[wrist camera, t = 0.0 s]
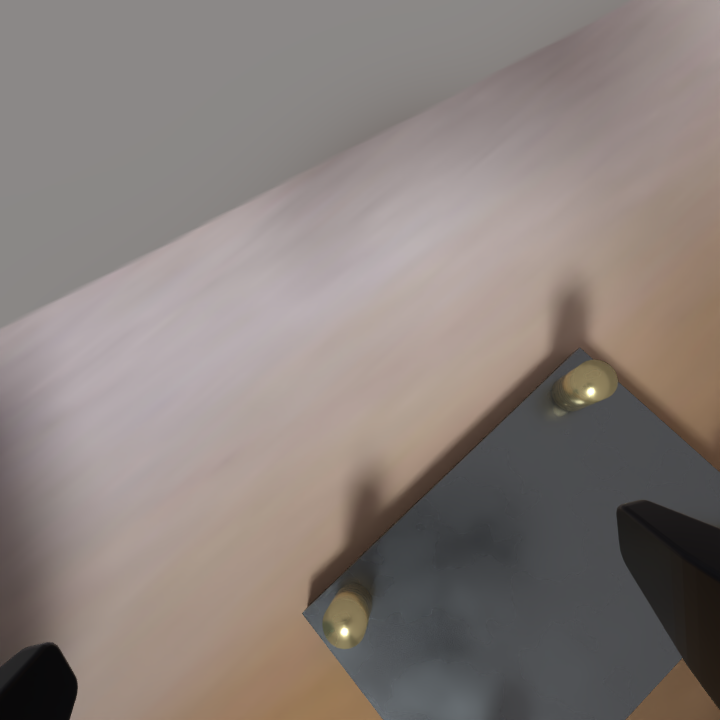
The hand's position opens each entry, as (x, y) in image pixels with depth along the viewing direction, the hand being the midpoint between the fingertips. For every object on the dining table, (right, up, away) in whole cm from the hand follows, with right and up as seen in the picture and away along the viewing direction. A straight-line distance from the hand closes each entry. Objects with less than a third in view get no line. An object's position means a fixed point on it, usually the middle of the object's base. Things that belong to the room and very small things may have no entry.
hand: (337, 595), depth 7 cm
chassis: (+8, -5, +13) cm, 16 cm away
